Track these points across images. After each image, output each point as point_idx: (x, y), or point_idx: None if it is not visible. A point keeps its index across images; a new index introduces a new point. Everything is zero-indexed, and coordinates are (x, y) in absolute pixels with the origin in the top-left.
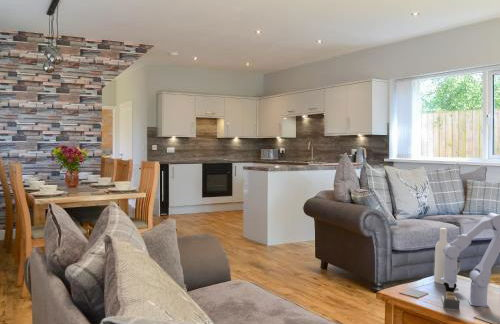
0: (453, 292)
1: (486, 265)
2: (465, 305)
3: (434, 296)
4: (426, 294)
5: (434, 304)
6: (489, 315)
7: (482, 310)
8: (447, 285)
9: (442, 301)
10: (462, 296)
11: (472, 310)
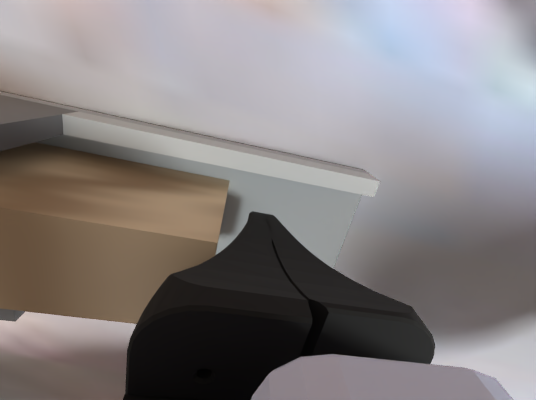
0: None
1: None
2: None
3: (443, 114)
4: (528, 32)
5: (132, 10)
6: (3, 395)
7: (106, 383)
8: (137, 354)
9: (238, 144)
10: None
11: (75, 329)
